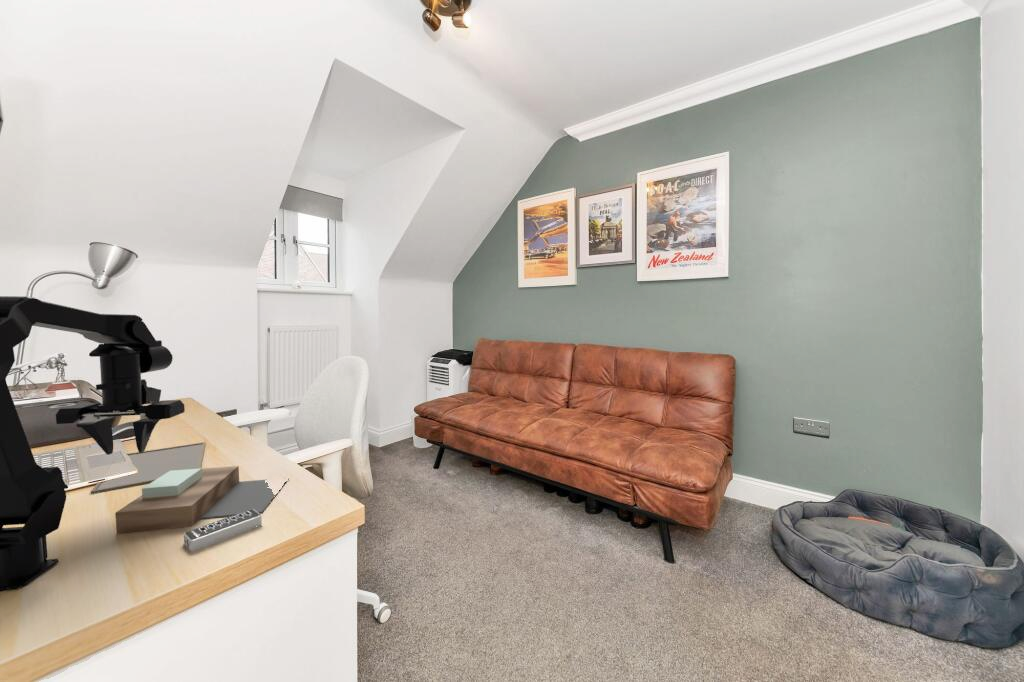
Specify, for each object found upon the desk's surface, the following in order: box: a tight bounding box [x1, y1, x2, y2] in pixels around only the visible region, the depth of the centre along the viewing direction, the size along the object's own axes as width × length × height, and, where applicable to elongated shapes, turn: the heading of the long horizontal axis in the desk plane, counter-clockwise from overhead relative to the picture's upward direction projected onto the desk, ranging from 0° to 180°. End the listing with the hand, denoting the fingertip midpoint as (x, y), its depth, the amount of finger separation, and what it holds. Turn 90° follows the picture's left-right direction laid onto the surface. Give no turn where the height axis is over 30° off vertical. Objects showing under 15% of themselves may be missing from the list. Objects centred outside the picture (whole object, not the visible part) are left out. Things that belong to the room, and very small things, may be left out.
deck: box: [114, 465, 240, 535], centre depth 83 cm, size 20×12×4 cm, turn 13°
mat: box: [199, 479, 276, 520], centre depth 87 cm, size 17×11×1 cm, turn 13°
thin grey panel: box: [90, 441, 207, 495], centre depth 105 cm, size 19×1×28 cm
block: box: [141, 467, 203, 498], centre depth 82 cm, size 9×6×2 cm, turn 13°
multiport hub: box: [183, 509, 263, 552], centre depth 72 cm, size 4×11×2 cm, turn 143°
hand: (125, 452), depth 80 cm, fingers open, 5 cm apart
